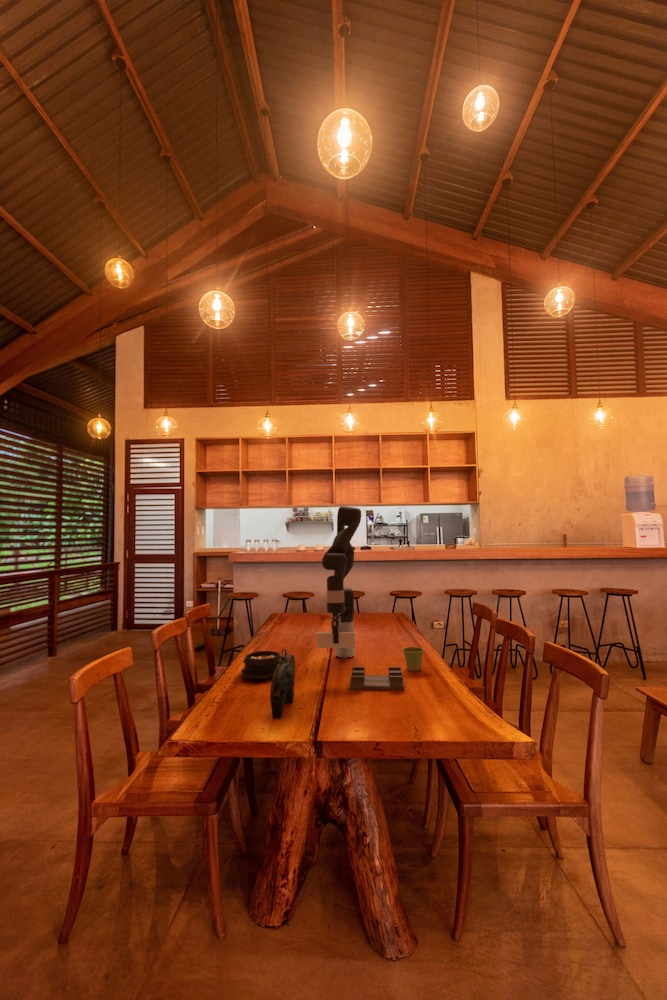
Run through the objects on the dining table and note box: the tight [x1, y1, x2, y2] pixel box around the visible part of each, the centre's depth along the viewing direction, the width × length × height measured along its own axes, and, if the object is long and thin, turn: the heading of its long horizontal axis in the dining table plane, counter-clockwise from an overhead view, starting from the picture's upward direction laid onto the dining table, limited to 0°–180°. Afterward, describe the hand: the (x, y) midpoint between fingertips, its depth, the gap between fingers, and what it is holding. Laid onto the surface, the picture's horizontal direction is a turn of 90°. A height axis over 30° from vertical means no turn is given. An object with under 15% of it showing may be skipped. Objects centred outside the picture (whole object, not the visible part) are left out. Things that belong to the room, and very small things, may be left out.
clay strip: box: [316, 631, 357, 649], centre depth 199 cm, size 2×16×6 cm, turn 84°
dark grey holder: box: [349, 666, 405, 691], centre depth 190 cm, size 14×21×5 cm, turn 85°
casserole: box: [240, 650, 281, 680], centre depth 207 cm, size 25×19×8 cm
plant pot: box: [402, 646, 425, 672], centre depth 210 cm, size 9×9×9 cm
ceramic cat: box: [269, 648, 296, 720], centre depth 166 cm, size 20×6×20 cm, turn 171°
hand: (336, 642), depth 199 cm, fingers closed on clay strip, 2 cm apart
